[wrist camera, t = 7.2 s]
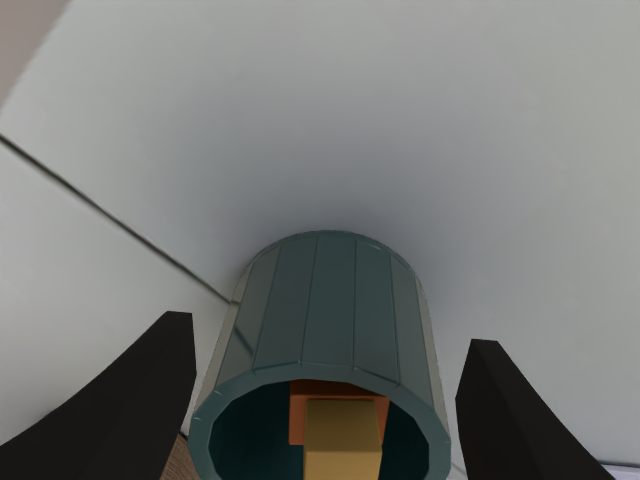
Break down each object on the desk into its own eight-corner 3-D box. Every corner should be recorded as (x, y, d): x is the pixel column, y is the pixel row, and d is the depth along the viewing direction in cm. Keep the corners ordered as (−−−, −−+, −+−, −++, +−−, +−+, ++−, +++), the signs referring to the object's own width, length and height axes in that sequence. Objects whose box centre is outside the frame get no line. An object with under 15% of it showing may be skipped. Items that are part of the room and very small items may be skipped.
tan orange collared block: (370, 285, 22) (365, 329, 23) (293, 283, 22) (291, 328, 23) (400, 451, 15) (390, 502, 16) (288, 450, 15) (286, 501, 16)
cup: (411, 388, 26) (428, 546, 19) (235, 372, 26) (194, 522, 19) (443, 239, 21) (479, 378, 15) (231, 221, 22) (176, 349, 15)
